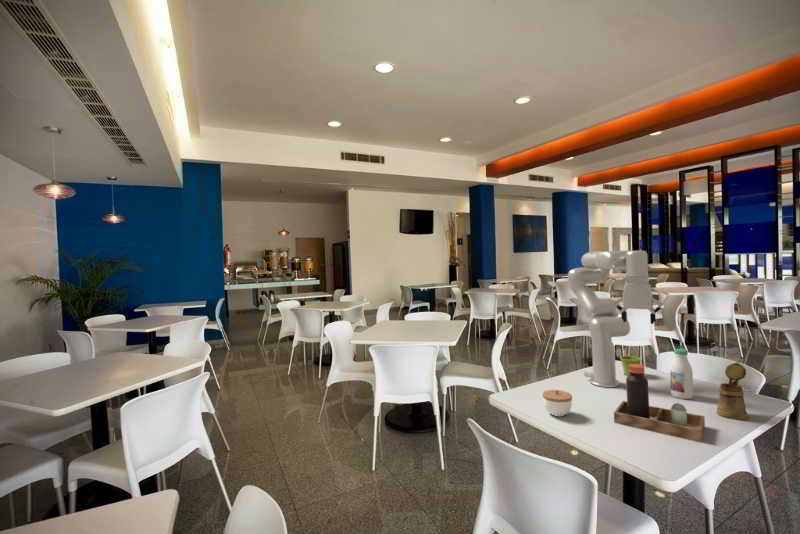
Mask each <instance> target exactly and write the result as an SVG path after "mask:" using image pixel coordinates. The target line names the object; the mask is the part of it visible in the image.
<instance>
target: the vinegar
mask: <svg viewBox="0 0 800 534" xmlns="http://www.w3.org/2000/svg"><path fill="white" fill-rule="evenodd" d="M629 373H630V375H629V376H626V378H625V379H626V380H625V382H626V401H627V409H628V415H633V416H638V417H643V418H647V419H650V417H649V406H650V399H649V397H650V395H649V380H648V379H647V377H645V375H644V374H645V366H644V365H642V364H630V365H629Z"/></svg>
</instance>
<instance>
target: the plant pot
mask: <svg viewBox="0 0 800 534" xmlns="http://www.w3.org/2000/svg"><path fill="white" fill-rule="evenodd" d="M619 359H620V361H621V365H622V370H623V375H624V376H625V375H626V377H628V376H629V375H630V373H629V365H630V364H639V365H641V364H640V363H641V360H642V358H641V357H638V356H633V355H622V356H619Z"/></svg>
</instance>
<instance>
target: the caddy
mask: <svg viewBox="0 0 800 534" xmlns="http://www.w3.org/2000/svg"><path fill="white" fill-rule="evenodd" d="M649 417H650V419H647V418H643V417H638V416H633V415H628V409H627V400H626V401H625V400H623V401H622V402H620V404H619V405H618V407H617V408H616V409H615V410H614V411H613V422H614V423H615V424H618V425H619V424H620V425H623V426H628V427H633V428H636V429H641V430H645V431H650V432H655V433H659V434H662V435H663V434H664V435H666V436H667V435H668V436H671V437H677V438H682V439H685V440H689V441H690V440H691V441H695V442H700V443H702V442H703V437H704V431H705V428H706V427H705V426H706V425H705V424H706V422H705V421H706V420H705V418H706V417H705V416H704V415H699V414H694V413H690V412H687V427H686V426H681V425H676V424H672V423H671V409H669V408H664V407H659V406H653V405H649Z"/></svg>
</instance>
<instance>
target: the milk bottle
mask: <svg viewBox="0 0 800 534" xmlns="http://www.w3.org/2000/svg"><path fill="white" fill-rule="evenodd" d="M673 352H674V353H673V355H674V358H673V361H672V362H671V364H670V369H669V370H670V371H669V372H670V373H669V374H670V375H669V376H670V395H671V396H672V397H674V398H676V399H681V400H692V399H693V398H694V376H693V375H694V373H693V367H692V365H691V363H690V362H689V359H688V350H687V349H684V348H674V350H673Z"/></svg>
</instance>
